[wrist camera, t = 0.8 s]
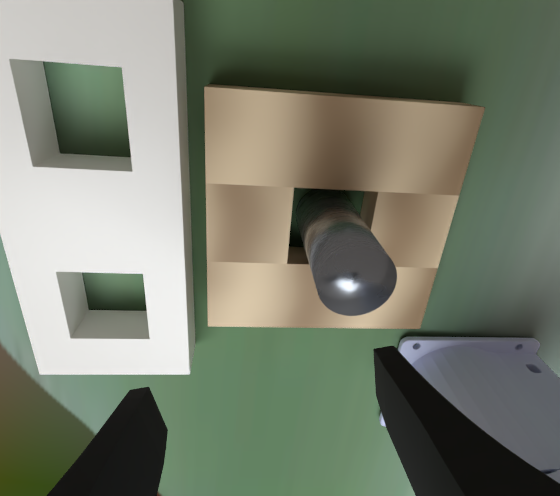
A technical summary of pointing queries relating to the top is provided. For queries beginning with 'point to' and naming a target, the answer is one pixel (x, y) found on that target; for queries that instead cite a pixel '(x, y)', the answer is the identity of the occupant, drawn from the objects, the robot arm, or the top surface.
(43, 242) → the tool rack
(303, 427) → the top surface
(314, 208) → the steel peg
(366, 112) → the socket block
